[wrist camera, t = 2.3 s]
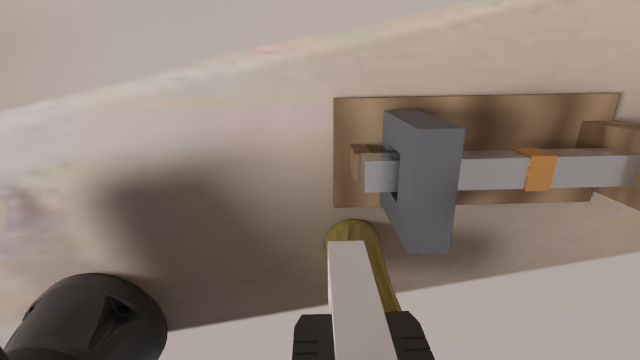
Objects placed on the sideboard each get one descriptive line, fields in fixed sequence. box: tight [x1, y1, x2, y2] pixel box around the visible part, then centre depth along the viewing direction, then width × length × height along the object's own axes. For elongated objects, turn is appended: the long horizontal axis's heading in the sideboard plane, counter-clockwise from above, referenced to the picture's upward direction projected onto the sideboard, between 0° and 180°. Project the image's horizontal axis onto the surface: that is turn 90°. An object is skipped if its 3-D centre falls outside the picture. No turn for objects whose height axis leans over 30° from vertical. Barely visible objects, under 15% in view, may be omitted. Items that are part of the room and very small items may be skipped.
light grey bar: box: [360, 147, 640, 193], centre depth 27 cm, size 22×3×3 cm, turn 91°
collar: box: [379, 110, 465, 255], centre depth 26 cm, size 3×9×10 cm, turn 1°
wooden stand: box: [333, 93, 640, 211], centre depth 29 cm, size 27×11×9 cm, turn 91°
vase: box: [324, 220, 402, 312], centre depth 29 cm, size 6×6×14 cm
